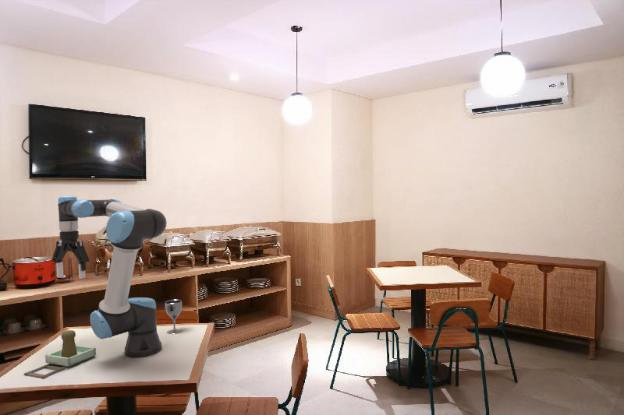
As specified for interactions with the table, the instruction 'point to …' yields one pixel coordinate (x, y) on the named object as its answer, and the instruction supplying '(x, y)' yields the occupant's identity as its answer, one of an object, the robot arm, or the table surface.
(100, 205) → the robot arm
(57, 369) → the rails
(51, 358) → the shallow green tray
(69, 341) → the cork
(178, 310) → the wine glass
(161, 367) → the table surface
